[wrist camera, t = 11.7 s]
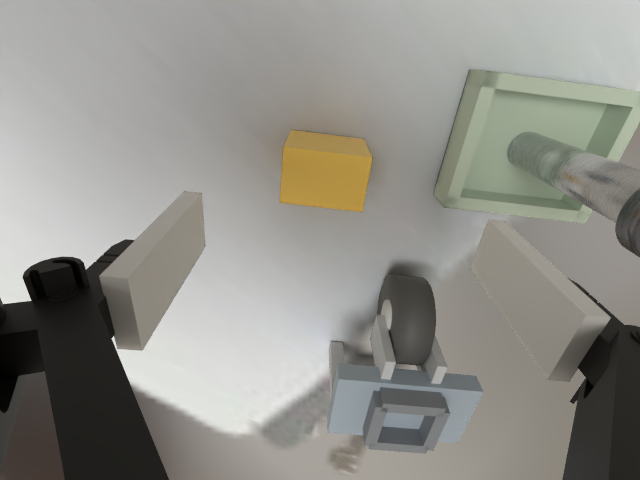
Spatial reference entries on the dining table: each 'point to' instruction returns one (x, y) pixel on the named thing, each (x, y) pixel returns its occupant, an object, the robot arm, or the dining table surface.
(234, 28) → the dining table surface
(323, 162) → the block
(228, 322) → the dining table surface
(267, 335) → the dining table surface
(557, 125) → the tray
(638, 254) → the pin
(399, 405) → the cart
